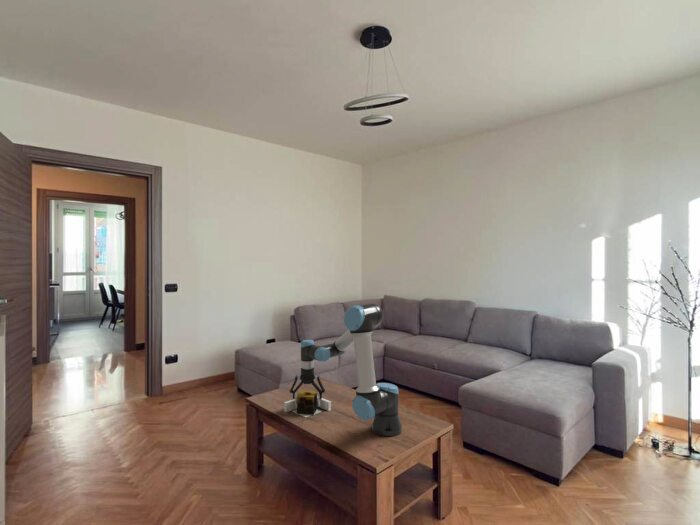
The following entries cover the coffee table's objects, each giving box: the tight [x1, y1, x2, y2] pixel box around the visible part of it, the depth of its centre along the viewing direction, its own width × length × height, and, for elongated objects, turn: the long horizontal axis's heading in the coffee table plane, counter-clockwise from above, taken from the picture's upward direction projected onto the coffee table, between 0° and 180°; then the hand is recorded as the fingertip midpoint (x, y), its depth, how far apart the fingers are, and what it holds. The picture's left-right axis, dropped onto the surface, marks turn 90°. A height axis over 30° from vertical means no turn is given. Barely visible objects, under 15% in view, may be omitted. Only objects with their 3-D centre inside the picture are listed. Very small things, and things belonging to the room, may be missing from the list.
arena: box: [283, 395, 332, 413], centre depth 219 cm, size 18×20×5 cm
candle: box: [296, 390, 319, 416], centre depth 218 cm, size 10×10×10 cm
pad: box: [292, 408, 323, 418], centre depth 218 cm, size 12×12×1 cm
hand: (307, 404), depth 218 cm, fingers open, 13 cm apart
